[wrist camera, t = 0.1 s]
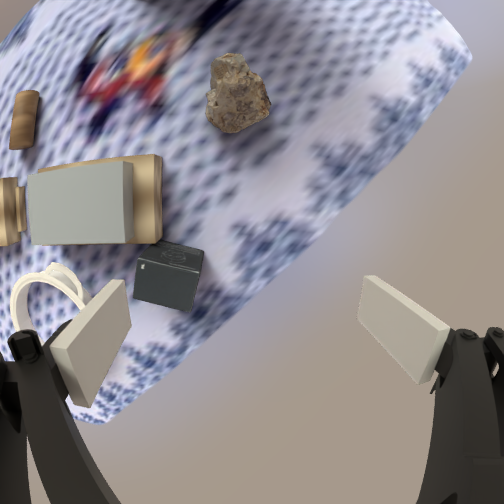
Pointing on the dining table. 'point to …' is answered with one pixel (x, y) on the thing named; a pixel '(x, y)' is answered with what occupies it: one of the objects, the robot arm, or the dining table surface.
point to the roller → (23, 120)
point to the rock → (235, 95)
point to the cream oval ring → (57, 278)
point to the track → (144, 166)
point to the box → (168, 275)
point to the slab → (82, 204)
